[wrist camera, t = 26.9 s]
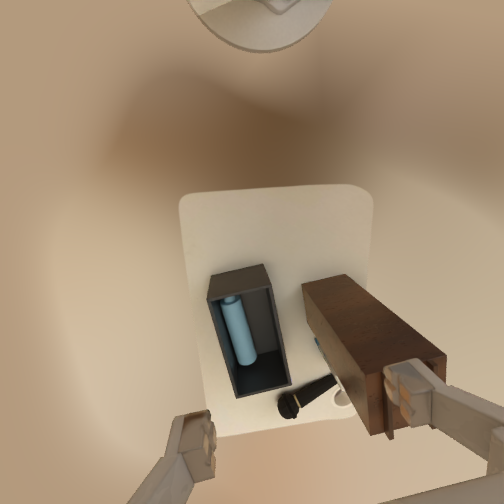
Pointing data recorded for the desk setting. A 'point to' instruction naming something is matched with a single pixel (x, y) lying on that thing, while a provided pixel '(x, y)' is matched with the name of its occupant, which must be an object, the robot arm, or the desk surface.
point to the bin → (251, 330)
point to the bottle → (238, 329)
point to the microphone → (303, 397)
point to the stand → (365, 347)
